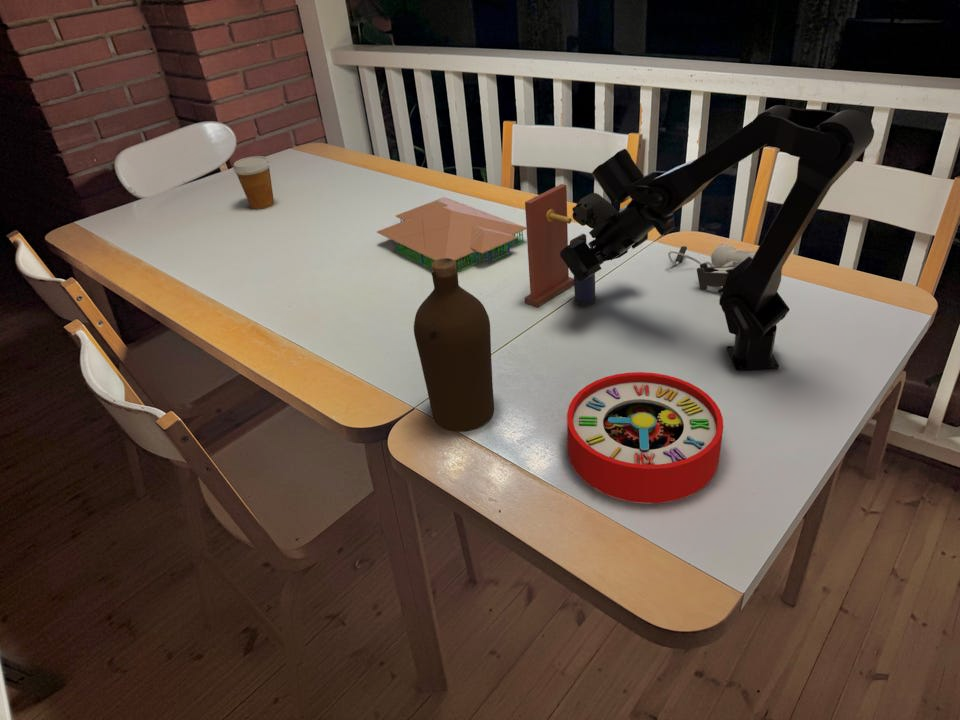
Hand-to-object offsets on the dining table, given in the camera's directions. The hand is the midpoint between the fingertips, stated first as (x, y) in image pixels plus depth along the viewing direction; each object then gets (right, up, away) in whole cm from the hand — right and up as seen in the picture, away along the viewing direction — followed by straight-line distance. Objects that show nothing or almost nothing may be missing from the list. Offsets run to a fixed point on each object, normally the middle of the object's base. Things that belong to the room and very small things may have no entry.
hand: (578, 267), depth 126 cm
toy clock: (+4, -29, -32) cm, 43 cm away
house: (-25, +9, +30) cm, 40 cm away
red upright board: (-3, -5, +5) cm, 8 cm away
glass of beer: (-77, +25, +62) cm, 102 cm away
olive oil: (-20, -25, -22) cm, 39 cm away
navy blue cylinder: (+2, -6, +3) cm, 7 cm away
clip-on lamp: (+26, -1, +7) cm, 27 cm away
